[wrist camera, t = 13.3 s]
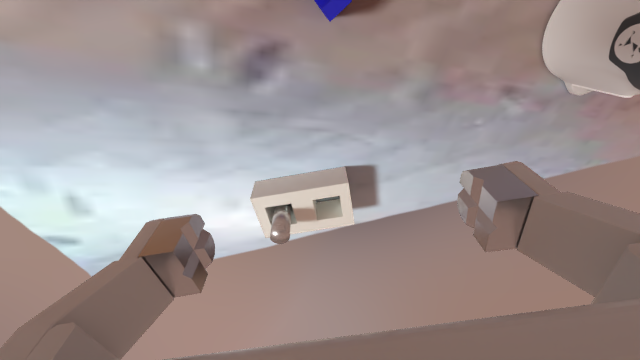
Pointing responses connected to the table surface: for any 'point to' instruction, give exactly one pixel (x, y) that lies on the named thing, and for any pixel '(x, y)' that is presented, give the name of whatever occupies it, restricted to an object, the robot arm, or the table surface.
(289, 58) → the table surface
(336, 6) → the cable clip
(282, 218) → the peg
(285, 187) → the hole block
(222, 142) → the table surface
